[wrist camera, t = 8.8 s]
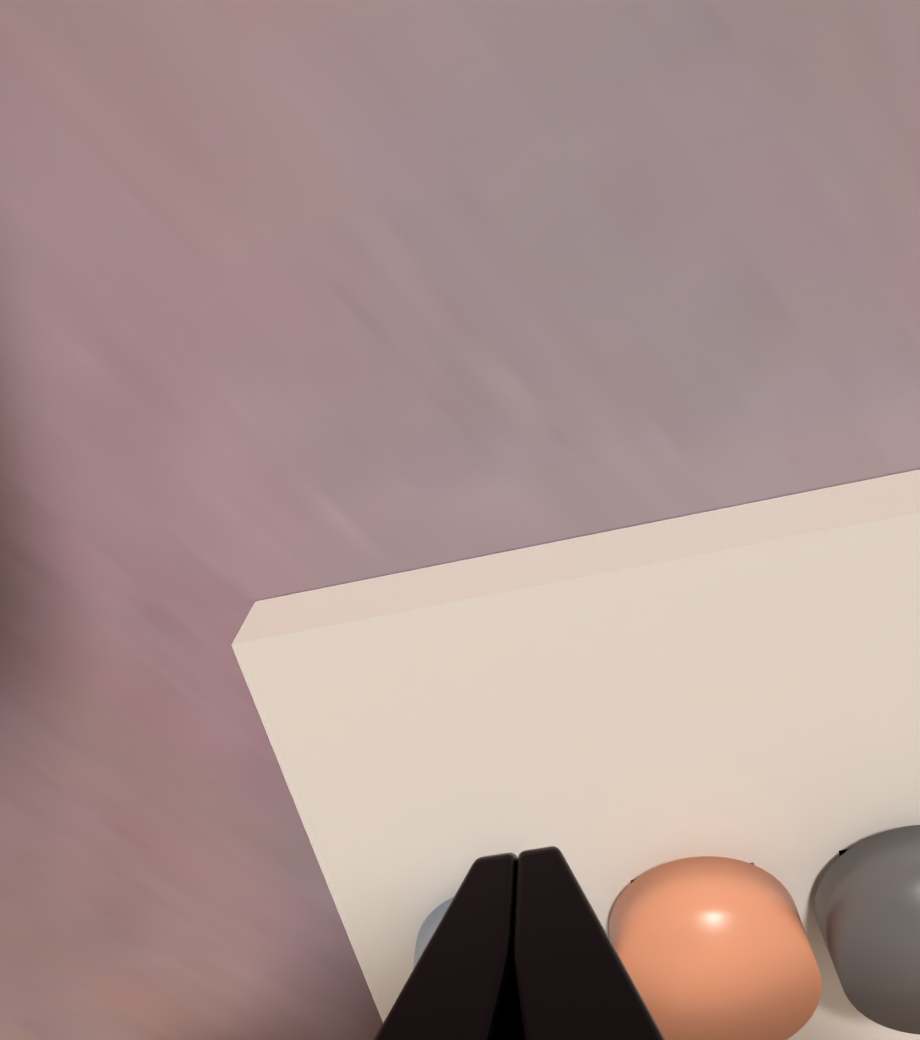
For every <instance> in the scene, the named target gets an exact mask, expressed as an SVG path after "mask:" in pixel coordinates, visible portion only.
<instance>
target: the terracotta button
mask: <svg viewBox="0 0 920 1040" xmlns="http://www.w3.org/2000/svg"><path fill="white" fill-rule="evenodd" d="M609 935H610V941H611V942H612V944H613V946H614V948H615V950H616V952H617V953H618V955H619V957H620V959H621V961H622V962H623V964H624V966H625V968H626V970H627V971H628V973H629V975H630V977H631V979H632V981H633V982H634V984H635V986H636V988H637V990H638V991H639V993H640V995H641V997H642V999H643V1000H644V1002H645V1004H646V1006H647V1008H648V1010H649V1011H650V1013H651V1015H652V1017H653V1019H654V1020H655V1022H656V1024H657V1026H658V1028H659V1030H660V1031H661V1033H662V1035H663V1037H664V1039H665V1040H787V1039H789V1038H790V1037H792V1036H793V1035H794V1034H796V1033H797V1032H798V1031H799V1030H800V1029H801V1028H802V1027H803V1026H804V1025H805V1024H806V1023H807V1022H808V1021H809V1019H810V1018H811V1017H812V1015H813V1014H814V1012H815V1010H816V1008H817V1006H818V1003H819V1000H820V997H821V991H822V979H821V974H820V970H819V967H818V964H817V962H816V959H815V956H814V954H813V951H812V948H811V946H810V943H809V940H808V937H807V935H806V932H805V929H804V927H803V924H802V921H801V919H800V916H799V913H798V910H797V908H796V905H795V903H794V900H793V898H792V896H791V895H790V893H789V892H788V890H787V889H786V888H785V886H784V885H783V884H782V883H781V882H780V881H779V880H778V879H776V878H775V877H774V876H773V875H771V874H770V873H768V872H767V871H765V870H763V869H761V868H759V867H757V866H755V865H753V864H750V863H747V862H744V861H741V860H736V859H732V858H726V857H716V856H701V857H690V858H685V859H679V860H675V861H672V862H669V863H665V864H663V865H660V866H658V867H656V868H653V869H651V870H650V871H648V872H646V873H644V874H643V875H641V876H640V877H638V878H637V879H636V880H634V881H633V882H632V883H631V884H630V885H629V886H628V887H627V888H626V889H625V890H624V891H623V892H622V894H621V895H620V896H619V898H618V899H617V901H616V903H615V905H614V907H613V910H612V912H611V916H610V921H609Z"/></svg>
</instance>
